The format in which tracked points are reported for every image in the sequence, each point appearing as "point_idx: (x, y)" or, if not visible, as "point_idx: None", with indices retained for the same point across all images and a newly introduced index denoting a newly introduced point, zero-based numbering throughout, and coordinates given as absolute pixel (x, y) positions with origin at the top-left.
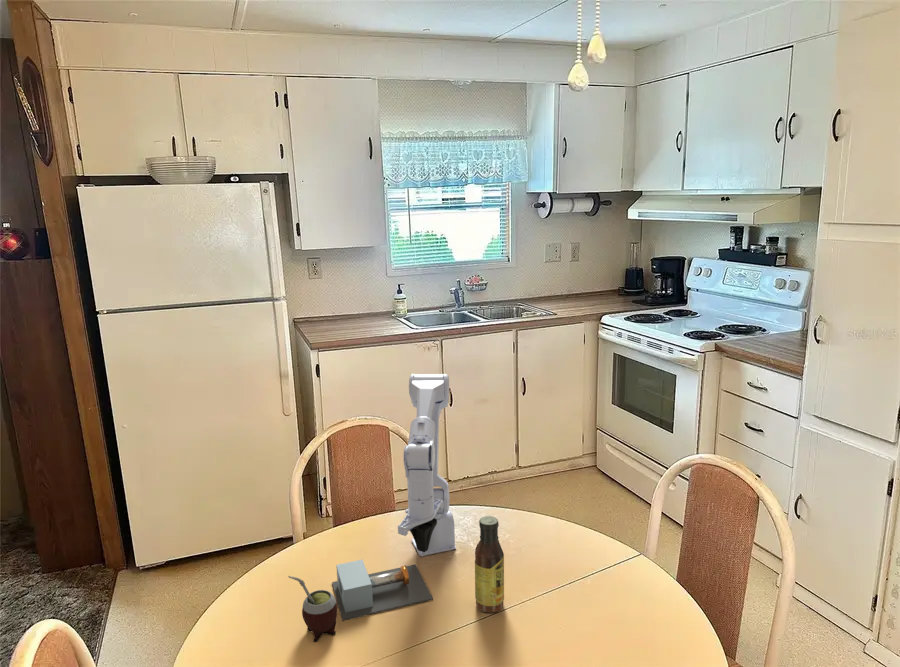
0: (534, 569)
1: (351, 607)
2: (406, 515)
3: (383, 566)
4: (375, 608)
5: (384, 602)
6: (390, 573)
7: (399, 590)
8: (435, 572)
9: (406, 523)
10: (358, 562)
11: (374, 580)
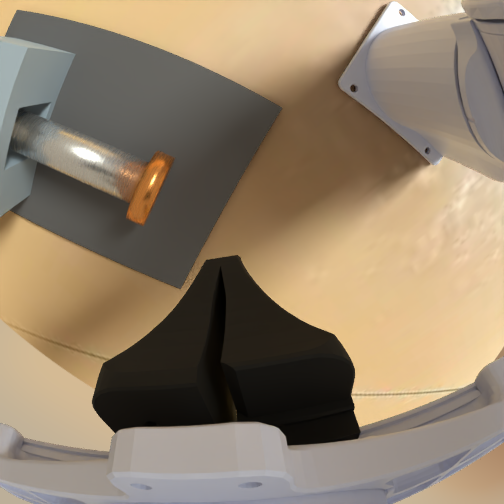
0: (418, 348)
1: None
2: (69, 496)
3: (192, 18)
4: (31, 207)
5: (59, 203)
6: (90, 170)
7: None
8: (294, 194)
9: (36, 501)
10: (6, 61)
11: (33, 158)
